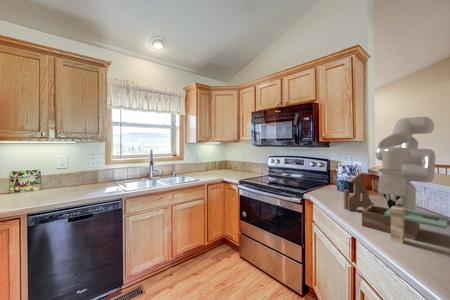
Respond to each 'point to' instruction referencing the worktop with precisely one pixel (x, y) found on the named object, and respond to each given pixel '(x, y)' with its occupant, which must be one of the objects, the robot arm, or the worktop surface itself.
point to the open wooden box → (386, 222)
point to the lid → (422, 217)
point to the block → (397, 224)
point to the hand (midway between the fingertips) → (391, 207)
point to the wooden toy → (357, 195)
